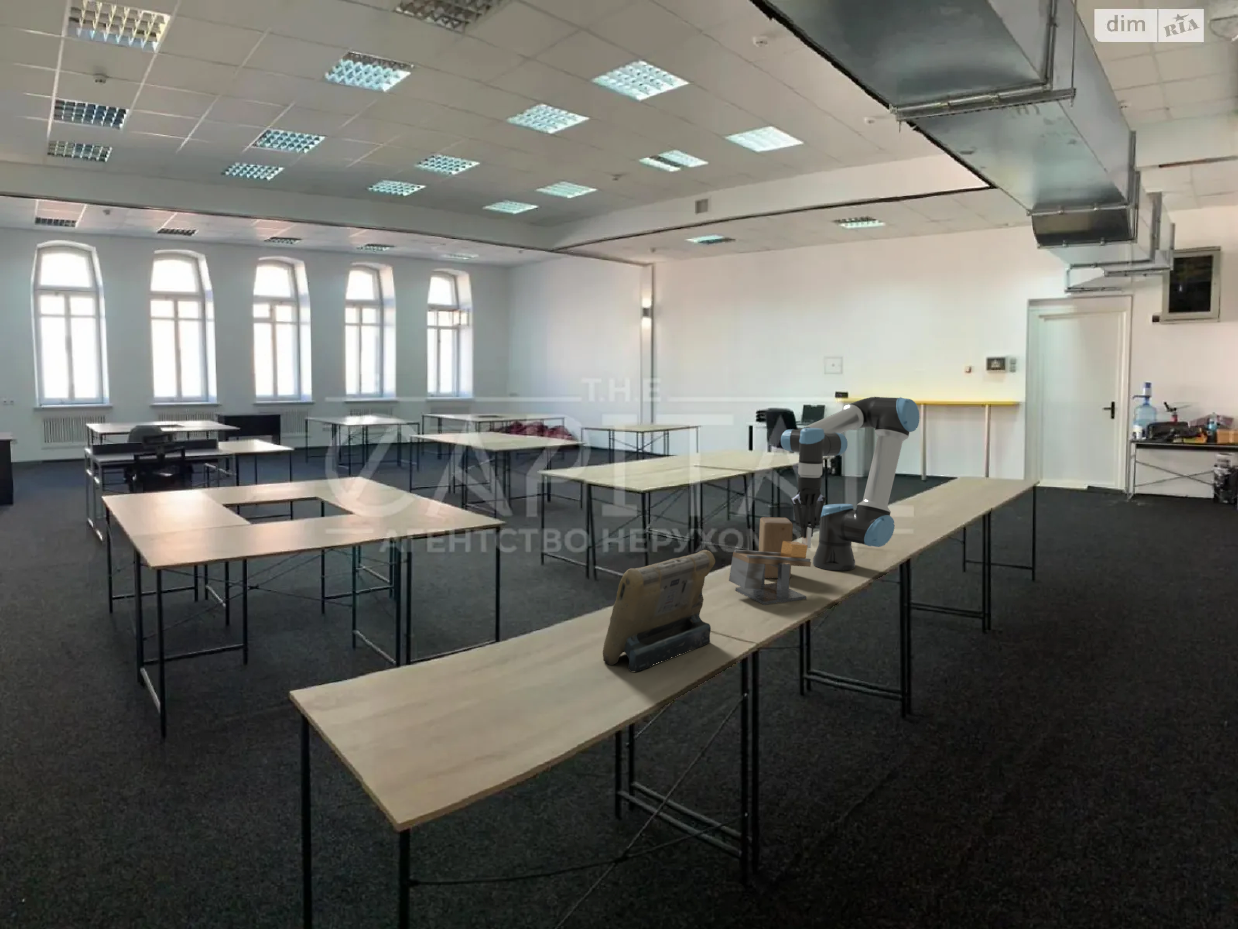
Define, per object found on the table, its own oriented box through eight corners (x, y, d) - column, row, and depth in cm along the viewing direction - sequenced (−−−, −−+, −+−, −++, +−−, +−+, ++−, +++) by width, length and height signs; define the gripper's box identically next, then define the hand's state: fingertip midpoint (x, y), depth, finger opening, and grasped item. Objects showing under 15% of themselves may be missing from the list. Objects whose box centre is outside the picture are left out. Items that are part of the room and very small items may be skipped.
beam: (789, 583, 252) (794, 553, 251) (806, 591, 244) (811, 559, 243) (728, 580, 242) (733, 549, 241) (744, 588, 234) (749, 555, 233)
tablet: (674, 629, 210) (676, 541, 207) (717, 641, 202) (720, 549, 199) (597, 663, 185) (599, 563, 182) (642, 678, 177) (645, 574, 174)
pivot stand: (776, 585, 254) (777, 550, 253) (806, 599, 240) (807, 562, 238) (735, 590, 248) (736, 554, 246) (763, 604, 233) (765, 566, 232)
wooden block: (791, 579, 262) (793, 522, 259) (762, 579, 262) (764, 522, 260) (785, 571, 272) (787, 517, 269) (757, 571, 272) (759, 516, 270)
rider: (795, 556, 249) (797, 542, 249) (805, 560, 244) (807, 545, 244) (780, 555, 247) (782, 540, 246) (790, 559, 242) (792, 544, 242)
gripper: (818, 473, 250) (814, 543, 253) (786, 475, 245) (782, 546, 248) (833, 476, 244) (829, 548, 246) (800, 478, 238) (797, 551, 241)
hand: (806, 547), depth 247 cm, fingers closed
